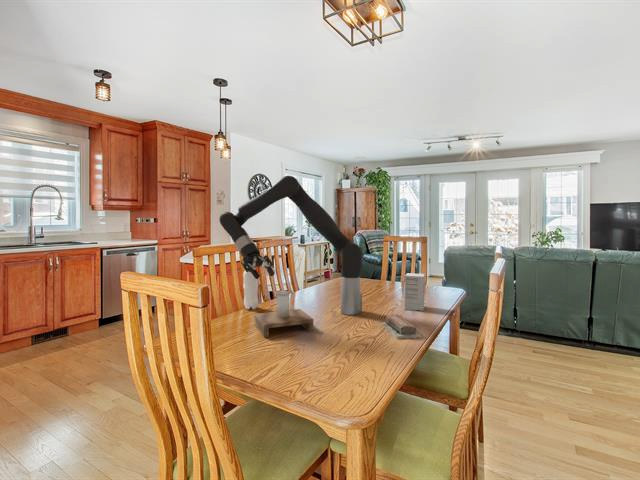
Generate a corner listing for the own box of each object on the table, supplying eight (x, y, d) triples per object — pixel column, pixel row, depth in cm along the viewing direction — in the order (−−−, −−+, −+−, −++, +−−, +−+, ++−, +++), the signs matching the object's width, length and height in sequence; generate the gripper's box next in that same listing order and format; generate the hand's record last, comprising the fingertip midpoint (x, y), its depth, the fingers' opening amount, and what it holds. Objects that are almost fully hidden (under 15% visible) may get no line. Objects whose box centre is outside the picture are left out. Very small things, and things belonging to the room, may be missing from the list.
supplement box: (423, 311, 169) (424, 276, 168) (404, 309, 172) (404, 275, 171) (424, 306, 178) (425, 273, 177) (405, 305, 181) (406, 272, 180)
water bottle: (255, 310, 171) (254, 259, 169) (241, 309, 173) (240, 259, 171) (260, 306, 178) (259, 257, 176) (247, 306, 180) (246, 257, 178)
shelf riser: (300, 320, 156) (300, 308, 155) (313, 331, 141) (313, 318, 141) (255, 325, 148) (254, 313, 148) (264, 337, 133) (263, 324, 133)
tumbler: (287, 313, 147) (287, 290, 147) (291, 317, 143) (290, 292, 142) (275, 315, 146) (275, 291, 145) (278, 318, 141) (278, 293, 140)
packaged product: (381, 314, 149) (403, 313, 150) (381, 325, 149) (403, 324, 151) (396, 327, 131) (422, 326, 133) (396, 340, 131) (421, 338, 133)
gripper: (238, 243, 148) (257, 273, 141) (263, 241, 159) (282, 268, 153) (230, 255, 151) (248, 284, 145) (255, 252, 162) (273, 279, 156)
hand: (265, 276), depth 149 cm, fingers open, 8 cm apart
